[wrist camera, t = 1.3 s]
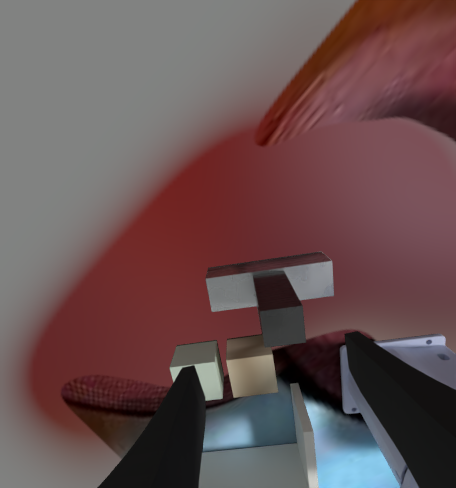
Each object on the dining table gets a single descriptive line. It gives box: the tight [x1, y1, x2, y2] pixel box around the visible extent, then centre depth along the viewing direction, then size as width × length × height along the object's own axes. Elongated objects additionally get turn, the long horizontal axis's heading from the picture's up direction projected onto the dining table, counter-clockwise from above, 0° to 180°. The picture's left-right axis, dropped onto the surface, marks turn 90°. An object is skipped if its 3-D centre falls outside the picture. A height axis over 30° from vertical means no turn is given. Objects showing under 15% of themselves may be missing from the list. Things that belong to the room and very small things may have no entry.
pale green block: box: [170, 340, 224, 401], centre depth 24 cm, size 4×4×3 cm
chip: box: [226, 334, 278, 398], centre depth 24 cm, size 4×4×3 cm
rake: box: [206, 251, 334, 348], centre depth 19 cm, size 10×3×8 cm, turn 99°
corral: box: [199, 383, 318, 488], centre depth 25 cm, size 14×9×5 cm, turn 99°
